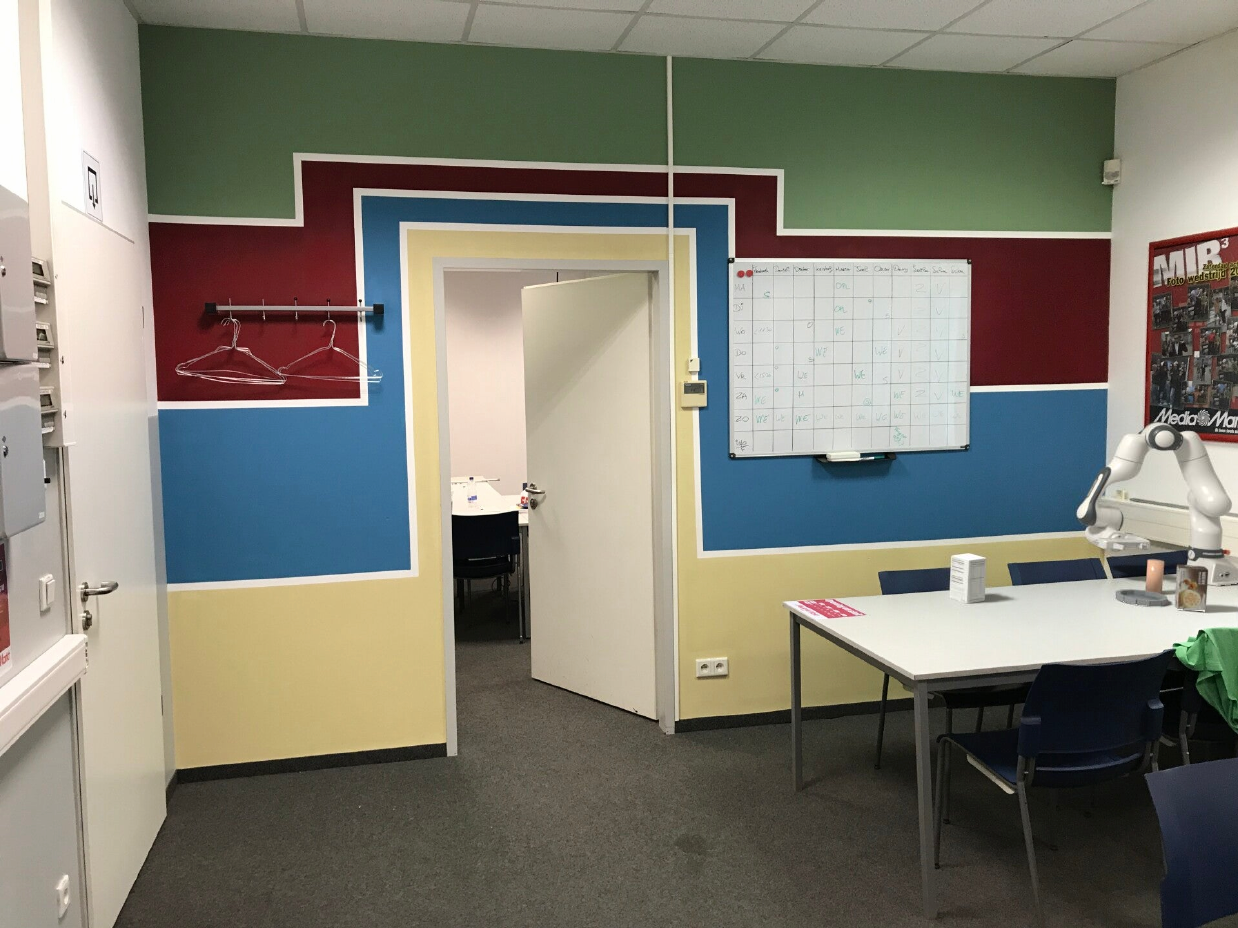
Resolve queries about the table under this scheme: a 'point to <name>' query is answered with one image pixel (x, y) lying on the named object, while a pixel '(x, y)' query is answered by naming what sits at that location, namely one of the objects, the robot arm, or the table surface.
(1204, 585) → the coffee box
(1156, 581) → the peach cylinder
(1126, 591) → the tray
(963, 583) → the supplement box
